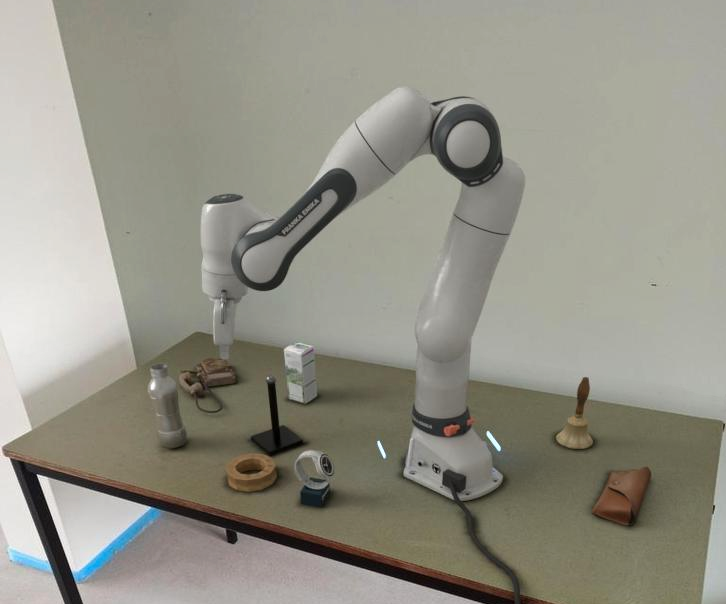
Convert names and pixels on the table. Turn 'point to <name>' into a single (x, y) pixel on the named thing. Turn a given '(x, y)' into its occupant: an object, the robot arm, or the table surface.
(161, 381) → the plastic bottle
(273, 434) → the stand
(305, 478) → the watch
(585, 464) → the table surface
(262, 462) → the ring
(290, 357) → the syrup box
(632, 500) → the sunglasses case
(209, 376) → the telephone
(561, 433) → the hand bell
